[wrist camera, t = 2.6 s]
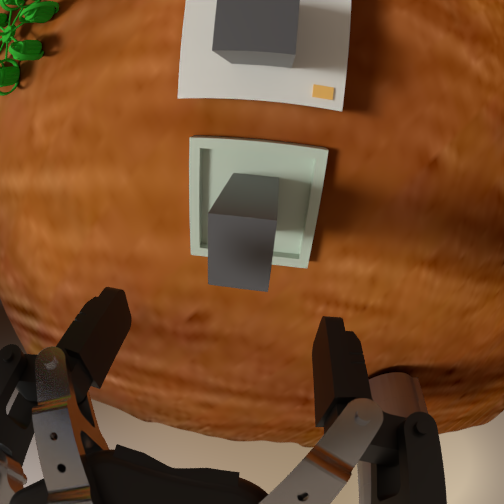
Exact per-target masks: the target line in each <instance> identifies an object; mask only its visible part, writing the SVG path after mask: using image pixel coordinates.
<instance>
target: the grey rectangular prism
mask: <svg viewBox="0 0 504 504" xmlns="http://www.w3.org/2000/svg"><path fill="white" fill-rule="evenodd" d="M278 195H279V178H278V177H269V176H260V175H250V174H239V173H233V174H232V176H231V177H230V179H229V180H228V182H227V184H226V185H225V187H224V188H223V190H222V191H221V193H220V195H219V196H218V198H217V199H216V201H215V203H214V204H213V206H212V207H211V209H210V211H209V212H208V284H210V285H217V286H225V287H232V288H240V289H248V290H257V291H265V292H268V287H269V280H270V272H271V265H272V257H273V250H274V242H275V234H276V227H277V216H278Z"/></svg>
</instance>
